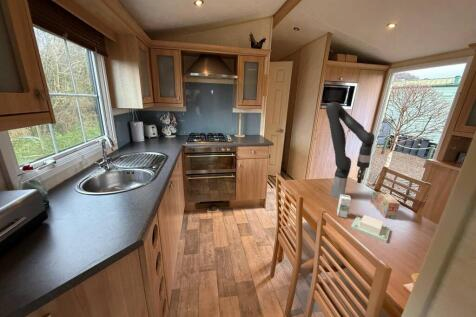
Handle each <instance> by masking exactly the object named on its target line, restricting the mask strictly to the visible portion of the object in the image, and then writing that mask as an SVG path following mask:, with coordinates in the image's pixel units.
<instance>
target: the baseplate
mask: <svg viewBox="0 0 476 317" xmlns="http://www.w3.org/2000/svg"><path fill="white" fill-rule="evenodd" d="M383 223H384V221H383V220H380V219H378V218H374V217H371V216H368V215H366V214H363V215H362V217H360V216H355V219H354V220H353V221H352V223H351V225H350V229H351V230H354V231H357V232H359V233H362V234H364V235H367V236H369V237H372V238H374V239H376V240H379V241H381V242H384V243H387V242H388V238H389V236H390V231H391V228H390V227H388V226H385V225H383Z"/></svg>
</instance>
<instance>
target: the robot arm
mask: <svg viewBox="0 0 476 317" xmlns="http://www.w3.org/2000/svg"><path fill="white" fill-rule="evenodd" d="M325 111H326V112H325V113H326V116H327V119H328V122H329V129H330V135H331V137H330V138H331V142H332V145H333V150H334V156H335V157H334V158H335V167H336V170H335V171H334V177H333V183H332V184H331V190H330V196H332V197H334V198H336V199H339V198H340V194H342V195H346V194H345V193H346V188H347V183H348V177H349V174H350V172H351V171H350V170H351V168H352V167H351V166H352V160H351V158H350V157H349V156H347V154H346V144H347V139H346V133H345V128H344V127H343V125H342V123H341V121H342V122H343V123H344V125H345V126H346V127H347V128H348V130H350V131H351V132H352V133H353V134H354V135H355V136H356V137H357V139H358V140H360V142H361V145H360V147H359V152H358V157H357V162H356V166H357V167H358V168H359V169H358V170H357V176H356V180H357V181H356V183H357V184H361V183H362V181H363V180H364V177H365V174H366V171H367V169H369V167H370V163H371V159H372V158H371V157H372V150H373V149H372V148H373V145H374V143H375V137H376V136H375V134H374V133H373V132H370V131H369V132H368V131H367V130H366V129H365V127H364V126H363V125H362V124H361V123H360V122H359V121H357V120H356V119H355V118H353V116H351V114H349V113H348V112H347V110H345V108H344V107H343V106H342V105H341V103H340V102H336V101H333V102H329V103H328V104H327V105H326V107H325Z"/></svg>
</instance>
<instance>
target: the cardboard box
mask: <svg viewBox="0 0 476 317" xmlns="http://www.w3.org/2000/svg"><path fill="white" fill-rule="evenodd" d="M370 202H371V204H372V205H373V207H375V208H376V210H378V212H379V214H380V215H382V217H383V219H387V220H389V219H390V220H396V219H397V218H396V217H397V216H398V215H397V214H398V212H399V209H400V205H401V203H400V201H398V200H397V199H396V198H394V197H393V196H392V195H391V194H389V193H384V192H383V191H373V192H372V197H371V201H370Z"/></svg>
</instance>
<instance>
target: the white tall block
mask: <svg viewBox="0 0 476 317" xmlns="http://www.w3.org/2000/svg"><path fill="white" fill-rule="evenodd" d="M351 202H352V198H351V196H350V195H347V194H344V195H342V194H340V198H338V204H337V210H336V214H337V217H339V218H345V219H347V218H348V215H349V211H350V207H351Z"/></svg>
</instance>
